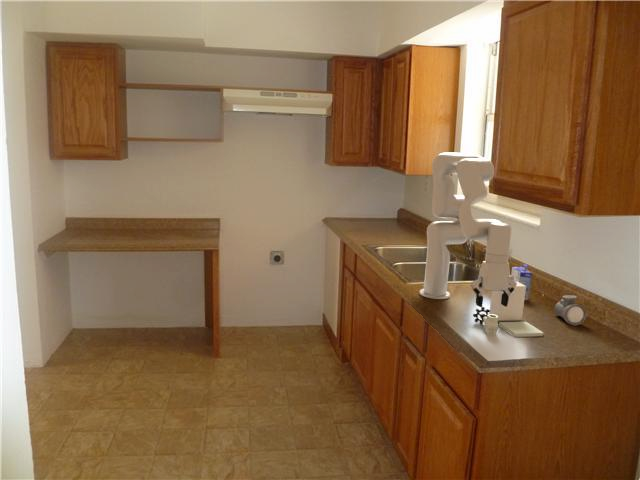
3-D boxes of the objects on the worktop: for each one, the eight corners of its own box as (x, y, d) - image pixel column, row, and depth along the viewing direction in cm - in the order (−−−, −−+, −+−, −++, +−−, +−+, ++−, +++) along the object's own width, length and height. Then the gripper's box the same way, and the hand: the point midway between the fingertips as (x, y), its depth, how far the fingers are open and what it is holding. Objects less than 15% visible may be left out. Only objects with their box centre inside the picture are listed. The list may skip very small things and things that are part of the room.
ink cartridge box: (529, 300, 236) (533, 267, 233) (516, 300, 236) (520, 267, 233) (520, 293, 246) (524, 261, 243) (507, 293, 245) (511, 261, 242)
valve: (502, 336, 193) (489, 324, 205) (504, 318, 192) (491, 306, 204) (483, 335, 193) (471, 323, 204) (485, 317, 191) (473, 306, 203)
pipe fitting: (587, 325, 208) (587, 298, 207) (565, 326, 207) (566, 299, 206) (570, 317, 219) (571, 292, 218) (550, 318, 219) (550, 293, 218)
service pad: (498, 325, 204) (498, 322, 203) (525, 324, 206) (525, 321, 206) (515, 336, 193) (515, 333, 193) (543, 335, 195) (543, 332, 195)
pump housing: (486, 317, 212) (491, 273, 209) (512, 316, 214) (517, 273, 211) (497, 324, 204) (502, 279, 201) (523, 323, 207) (530, 279, 203)
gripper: (513, 256, 199) (507, 302, 202) (468, 256, 195) (464, 303, 199) (525, 260, 192) (519, 308, 195) (479, 260, 188) (474, 309, 191)
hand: (491, 305), depth 197 cm, fingers open, 9 cm apart
